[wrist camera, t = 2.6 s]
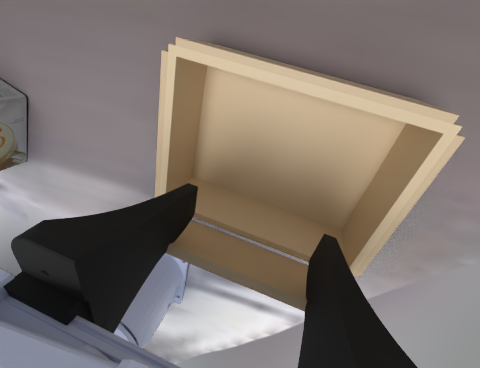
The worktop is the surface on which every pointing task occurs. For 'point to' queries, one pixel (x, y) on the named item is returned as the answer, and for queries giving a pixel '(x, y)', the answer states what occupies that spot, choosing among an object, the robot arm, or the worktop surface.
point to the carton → (294, 150)
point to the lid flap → (242, 263)
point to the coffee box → (12, 126)
